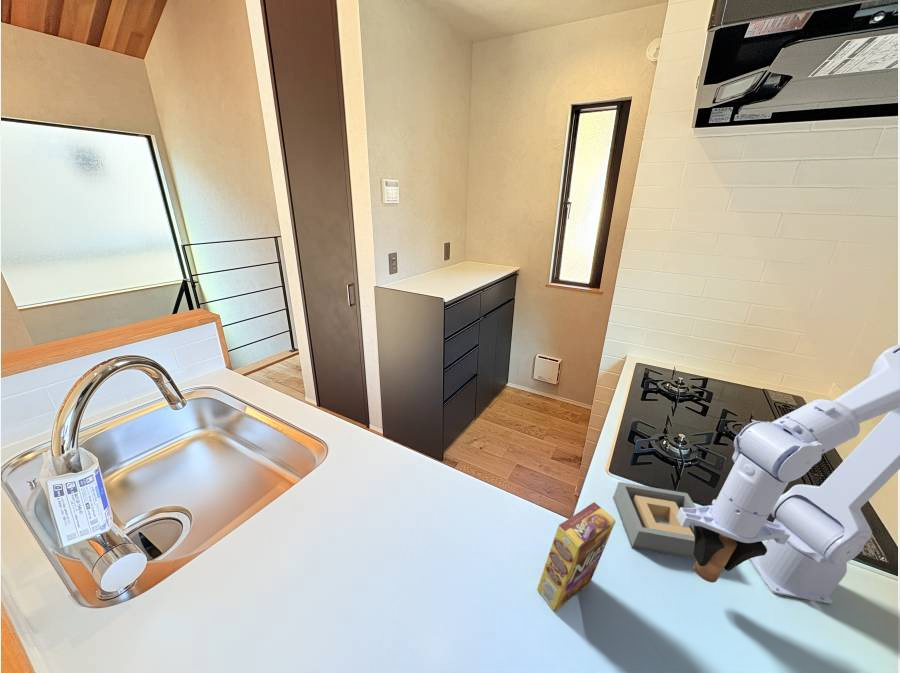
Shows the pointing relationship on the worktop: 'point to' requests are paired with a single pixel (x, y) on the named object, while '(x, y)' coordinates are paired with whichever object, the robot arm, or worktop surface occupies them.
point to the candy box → (575, 555)
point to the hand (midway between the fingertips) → (711, 562)
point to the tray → (655, 519)
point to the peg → (717, 560)
